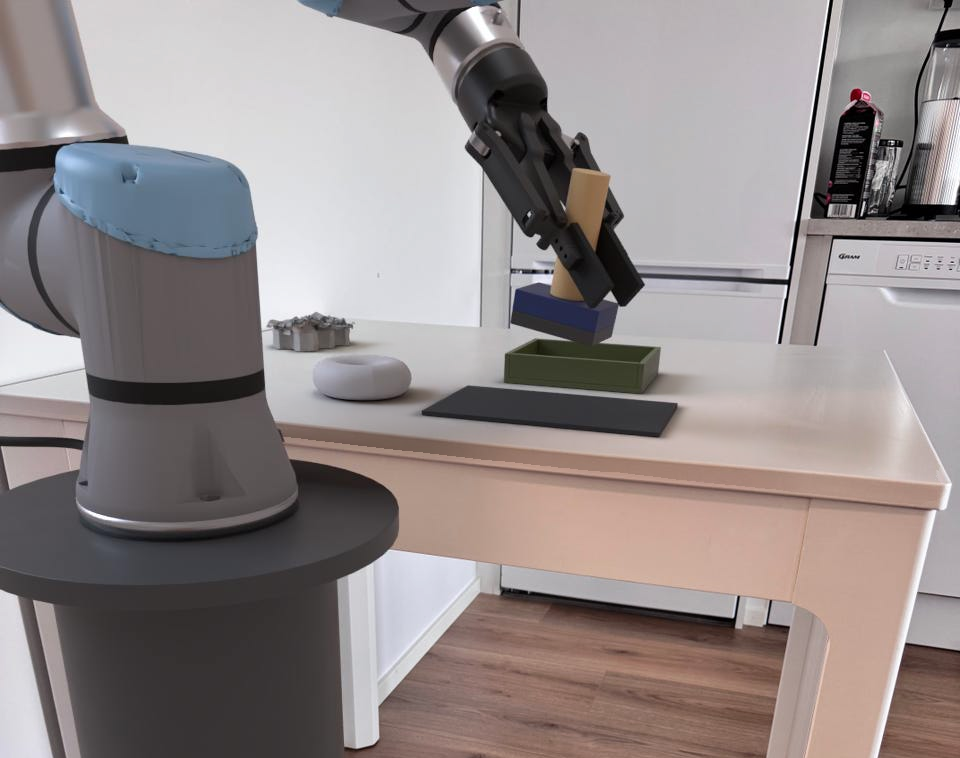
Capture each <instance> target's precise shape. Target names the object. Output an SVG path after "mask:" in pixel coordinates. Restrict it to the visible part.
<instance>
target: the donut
mask: <svg viewBox="0 0 960 758" xmlns="http://www.w3.org/2000/svg"><path fill="white" fill-rule="evenodd" d="M311 377H312V381H313V385H314V386H315V388H316V390H317V391H318V392H319V393H322V394H323V395H325V396H328V397H331V398H333V399H334V398H335V399H341V400H348V401H349V400H350V401H377V400H378V401H379V400H389V399H393V398H396V397H399V396H401V395H403V394H404V393H405V392H406V391H407V390H408V389H409V388H410V386H411V384H412V379H413V378H412V372H411V370H410V368H409V366H408V365H407V364H406V363H405V362H404V361H403V360H400V359H398V358H395V357H391V356H386V355H375V354H342V355H334V356H328V357H326V358H325V357H324V358H323V359H322V360H320V361H318V362H317V363H316V364H315V365H314V367H313V369H312V376H311Z"/></svg>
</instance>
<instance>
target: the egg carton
mask: <svg viewBox="0 0 960 758" xmlns="http://www.w3.org/2000/svg"><path fill="white" fill-rule="evenodd" d="M354 325H356V322H355V321H352V322H351V323H350V322H349V323H348V322H347V321H346V319H345V317H342V318H338V317H336V316H331V315H330V314H329V315H328V316H326V315H324V314H322V313H320V312H318V311H314V312H313V313H312V314H308V315H307V314H306V315H304V316H300V318H299V317H298V316H297V315H295V316H294V317H292V318H290V319H284V320H277V319H269V320H268V322H267V324H266V328H268V329H270V328H271V329H272V345H273V347H274V348H275V349H278V350H282V349H286V350H287V349H292V350H293V351H294V352H318V351H319V349H332V348H335V346H351V340H350V333H351V330H353V329H354Z"/></svg>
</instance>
